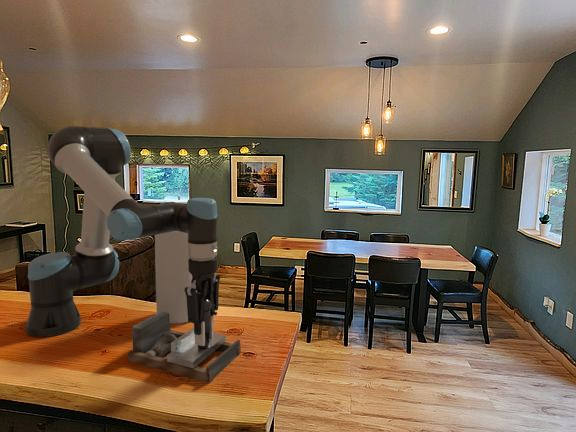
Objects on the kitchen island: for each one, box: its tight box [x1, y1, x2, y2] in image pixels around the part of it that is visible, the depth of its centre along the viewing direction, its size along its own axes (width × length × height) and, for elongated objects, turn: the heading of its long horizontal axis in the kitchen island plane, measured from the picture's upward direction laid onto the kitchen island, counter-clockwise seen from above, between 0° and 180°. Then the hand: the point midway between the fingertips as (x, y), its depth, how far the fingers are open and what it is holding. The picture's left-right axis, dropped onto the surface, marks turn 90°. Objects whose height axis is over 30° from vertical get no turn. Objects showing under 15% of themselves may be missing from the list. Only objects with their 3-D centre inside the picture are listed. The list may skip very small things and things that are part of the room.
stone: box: [145, 333, 177, 358], centre depth 111 cm, size 10×5×8 cm
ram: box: [166, 298, 227, 368], centre depth 107 cm, size 8×16×18 cm, turn 158°
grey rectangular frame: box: [127, 311, 242, 384], centre depth 109 cm, size 26×16×9 cm, turn 68°
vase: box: [154, 231, 192, 325], centre depth 134 cm, size 14×14×32 cm
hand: (204, 341), depth 106 cm, fingers closed on ram, 3 cm apart
